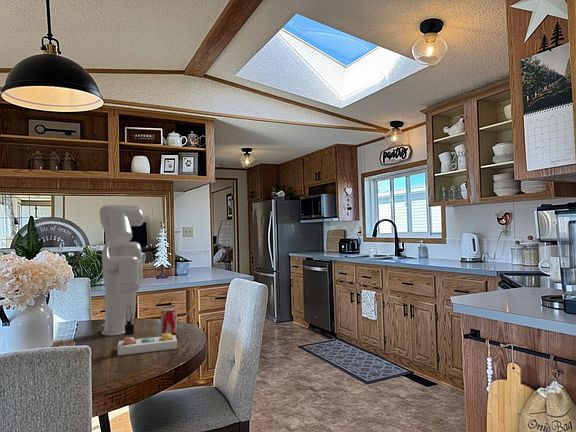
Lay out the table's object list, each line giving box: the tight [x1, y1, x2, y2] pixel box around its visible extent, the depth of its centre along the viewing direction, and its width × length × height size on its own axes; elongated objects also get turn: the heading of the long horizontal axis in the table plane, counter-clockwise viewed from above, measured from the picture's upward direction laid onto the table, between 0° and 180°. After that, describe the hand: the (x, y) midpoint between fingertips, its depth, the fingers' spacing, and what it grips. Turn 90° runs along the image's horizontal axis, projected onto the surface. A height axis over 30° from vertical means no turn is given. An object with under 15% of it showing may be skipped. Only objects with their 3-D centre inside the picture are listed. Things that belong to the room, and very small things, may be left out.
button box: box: [117, 335, 178, 356], centre depth 161 cm, size 22×10×3 cm, turn 110°
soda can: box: [160, 307, 178, 336], centre depth 180 cm, size 7×7×12 cm
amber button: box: [160, 333, 171, 341], centre depth 164 cm, size 4×4×3 cm
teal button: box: [142, 337, 153, 343], centre depth 161 cm, size 4×4×3 cm
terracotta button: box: [123, 336, 135, 345], centre depth 159 cm, size 4×4×3 cm
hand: (129, 334), depth 158 cm, fingers closed
